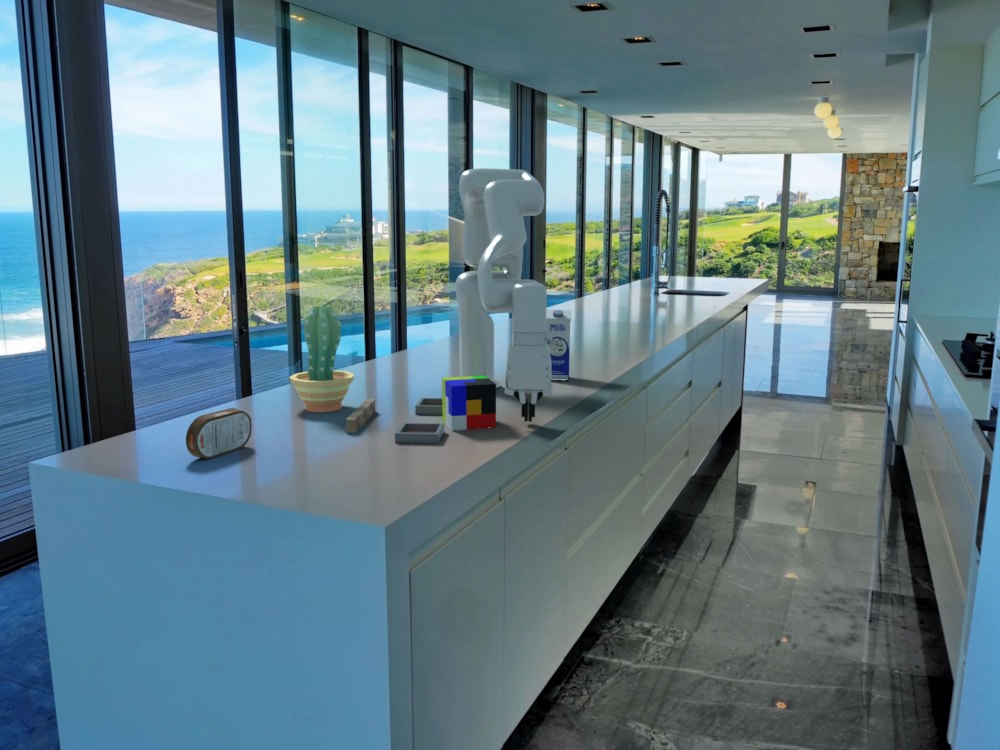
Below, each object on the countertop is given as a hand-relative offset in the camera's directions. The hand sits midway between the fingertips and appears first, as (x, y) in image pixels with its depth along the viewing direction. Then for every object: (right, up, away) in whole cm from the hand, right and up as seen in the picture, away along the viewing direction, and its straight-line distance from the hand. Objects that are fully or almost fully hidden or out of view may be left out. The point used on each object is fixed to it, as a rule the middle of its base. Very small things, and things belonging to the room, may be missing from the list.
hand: (528, 420), depth 183 cm
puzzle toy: (-13, -1, +1) cm, 13 cm away
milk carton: (+10, +9, +53) cm, 54 cm away
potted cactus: (-49, +2, +16) cm, 52 cm away
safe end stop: (-38, -1, +3) cm, 38 cm away
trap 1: (-23, -3, -11) cm, 26 cm away
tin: (-61, -6, -22) cm, 65 cm away
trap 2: (-21, +2, +14) cm, 26 cm away
